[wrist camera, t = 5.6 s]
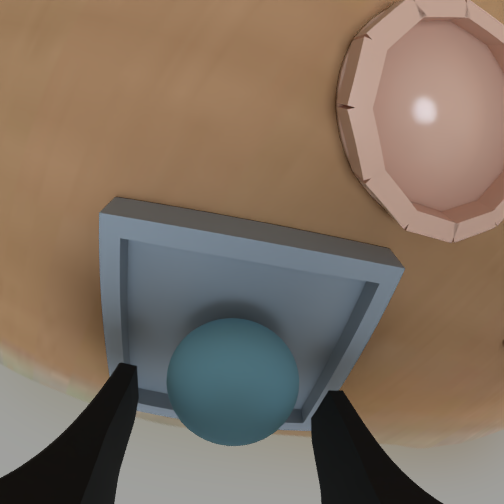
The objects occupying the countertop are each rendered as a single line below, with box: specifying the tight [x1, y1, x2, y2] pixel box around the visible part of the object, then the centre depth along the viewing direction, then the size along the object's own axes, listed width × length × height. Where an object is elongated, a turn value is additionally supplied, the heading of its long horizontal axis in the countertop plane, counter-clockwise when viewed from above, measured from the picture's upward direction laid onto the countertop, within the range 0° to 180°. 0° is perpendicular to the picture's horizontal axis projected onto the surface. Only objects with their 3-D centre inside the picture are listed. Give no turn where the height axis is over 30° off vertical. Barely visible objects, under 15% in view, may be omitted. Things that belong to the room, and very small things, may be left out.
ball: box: [166, 318, 299, 446], centre depth 12 cm, size 5×5×5 cm
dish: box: [336, 0, 504, 243], centre depth 9 cm, size 9×9×2 cm
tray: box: [99, 197, 405, 431], centre depth 14 cm, size 11×11×2 cm
